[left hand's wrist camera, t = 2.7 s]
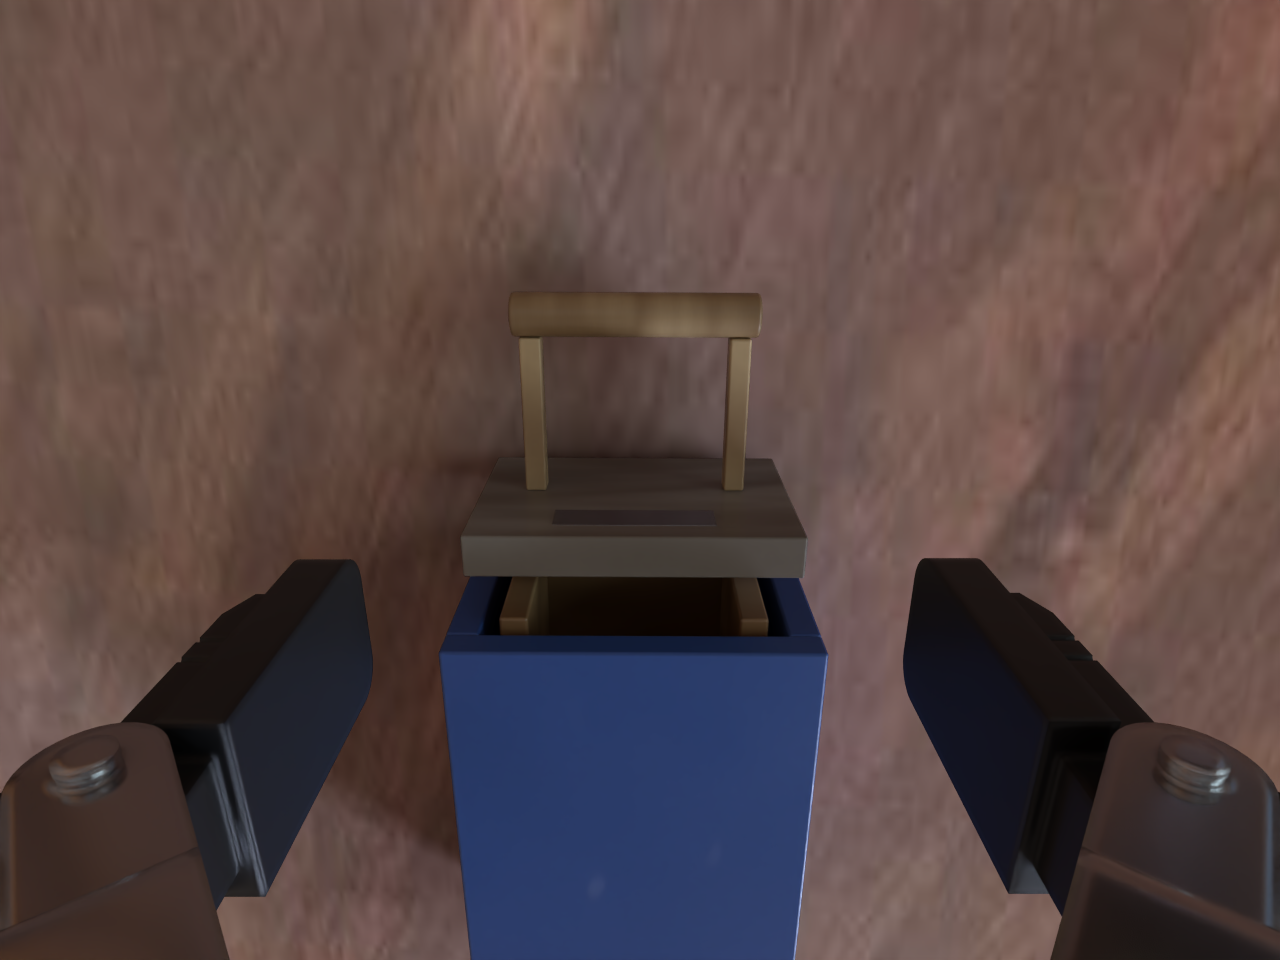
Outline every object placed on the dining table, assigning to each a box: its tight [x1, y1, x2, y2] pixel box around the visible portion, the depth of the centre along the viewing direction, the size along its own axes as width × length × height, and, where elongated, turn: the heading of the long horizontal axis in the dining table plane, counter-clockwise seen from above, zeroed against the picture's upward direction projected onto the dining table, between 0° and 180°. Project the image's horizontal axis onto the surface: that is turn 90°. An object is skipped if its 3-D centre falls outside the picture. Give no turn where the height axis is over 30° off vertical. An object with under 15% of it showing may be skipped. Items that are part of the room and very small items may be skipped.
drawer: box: [460, 292, 808, 637], centre depth 25 cm, size 23×9×6 cm, turn 0°
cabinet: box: [439, 576, 828, 960], centre depth 28 cm, size 18×10×8 cm, turn 0°
